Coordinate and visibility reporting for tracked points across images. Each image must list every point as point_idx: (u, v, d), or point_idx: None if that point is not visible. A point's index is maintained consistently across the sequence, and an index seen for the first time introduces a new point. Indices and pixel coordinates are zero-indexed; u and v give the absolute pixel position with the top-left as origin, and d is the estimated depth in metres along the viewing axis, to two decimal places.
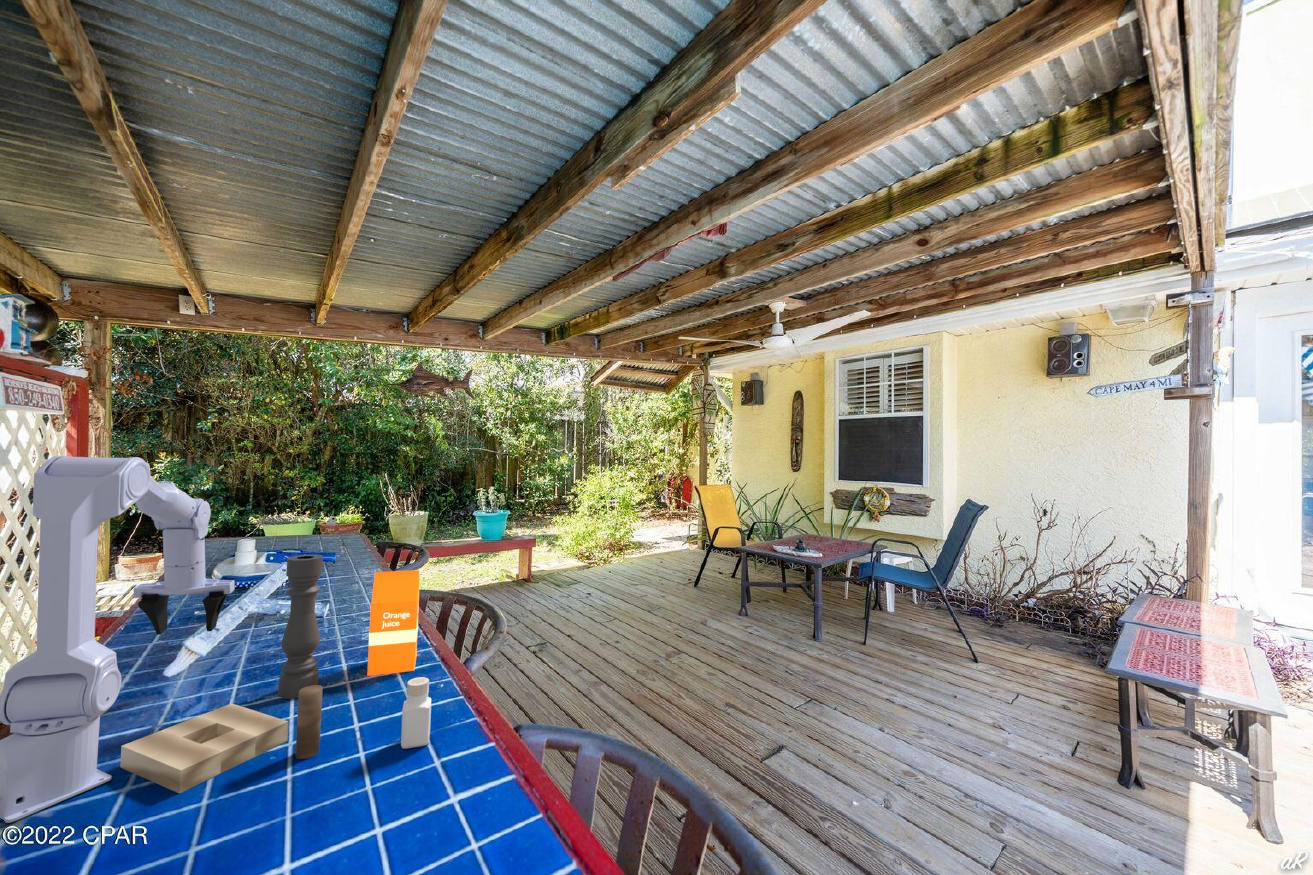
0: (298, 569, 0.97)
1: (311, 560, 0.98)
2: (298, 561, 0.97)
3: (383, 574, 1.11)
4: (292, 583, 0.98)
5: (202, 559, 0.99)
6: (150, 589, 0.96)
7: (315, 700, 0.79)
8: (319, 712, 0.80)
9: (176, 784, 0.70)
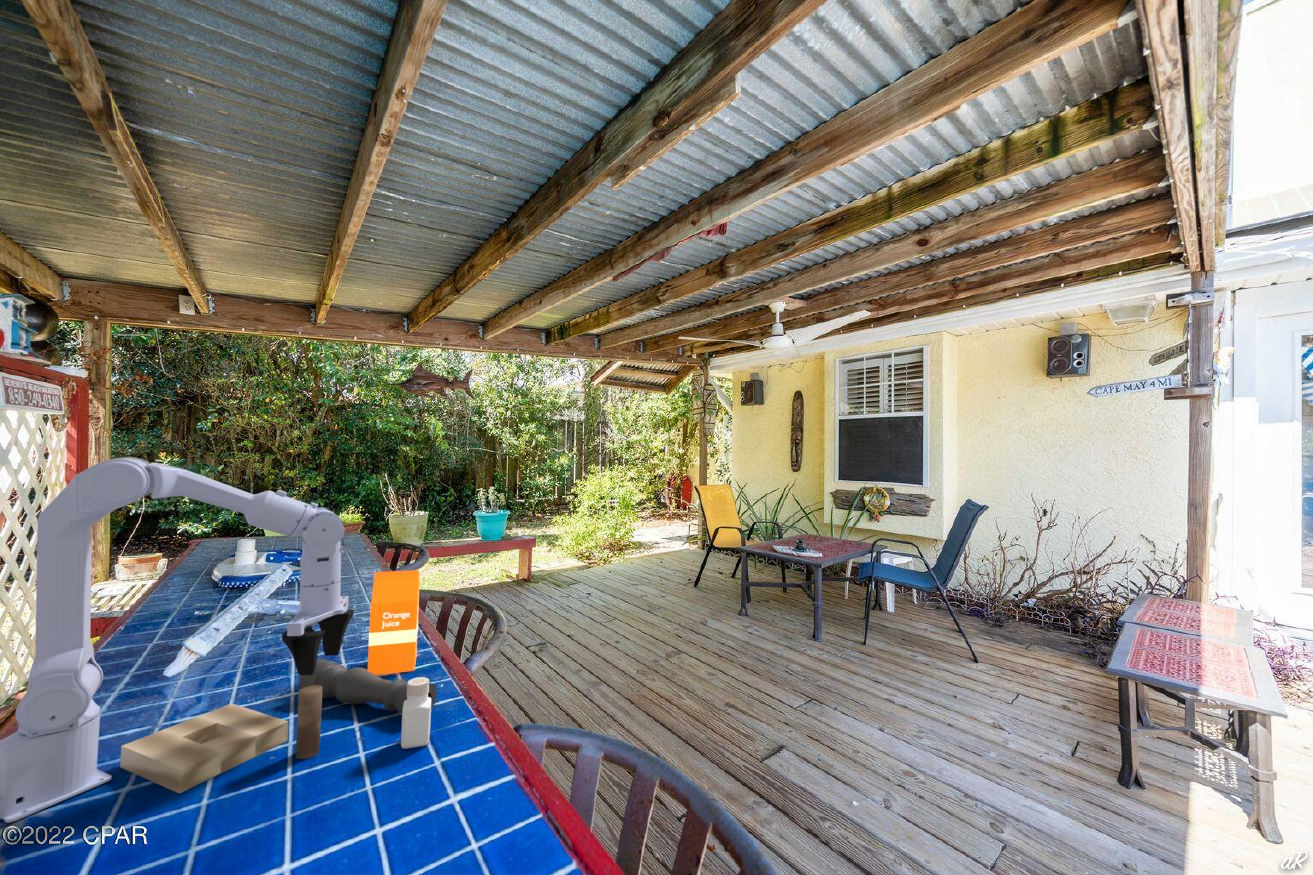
0: None
1: None
2: None
3: (383, 574, 1.11)
4: (395, 701, 0.90)
5: (320, 583, 0.85)
6: None
7: (315, 700, 0.79)
8: (319, 712, 0.80)
9: (176, 784, 0.70)
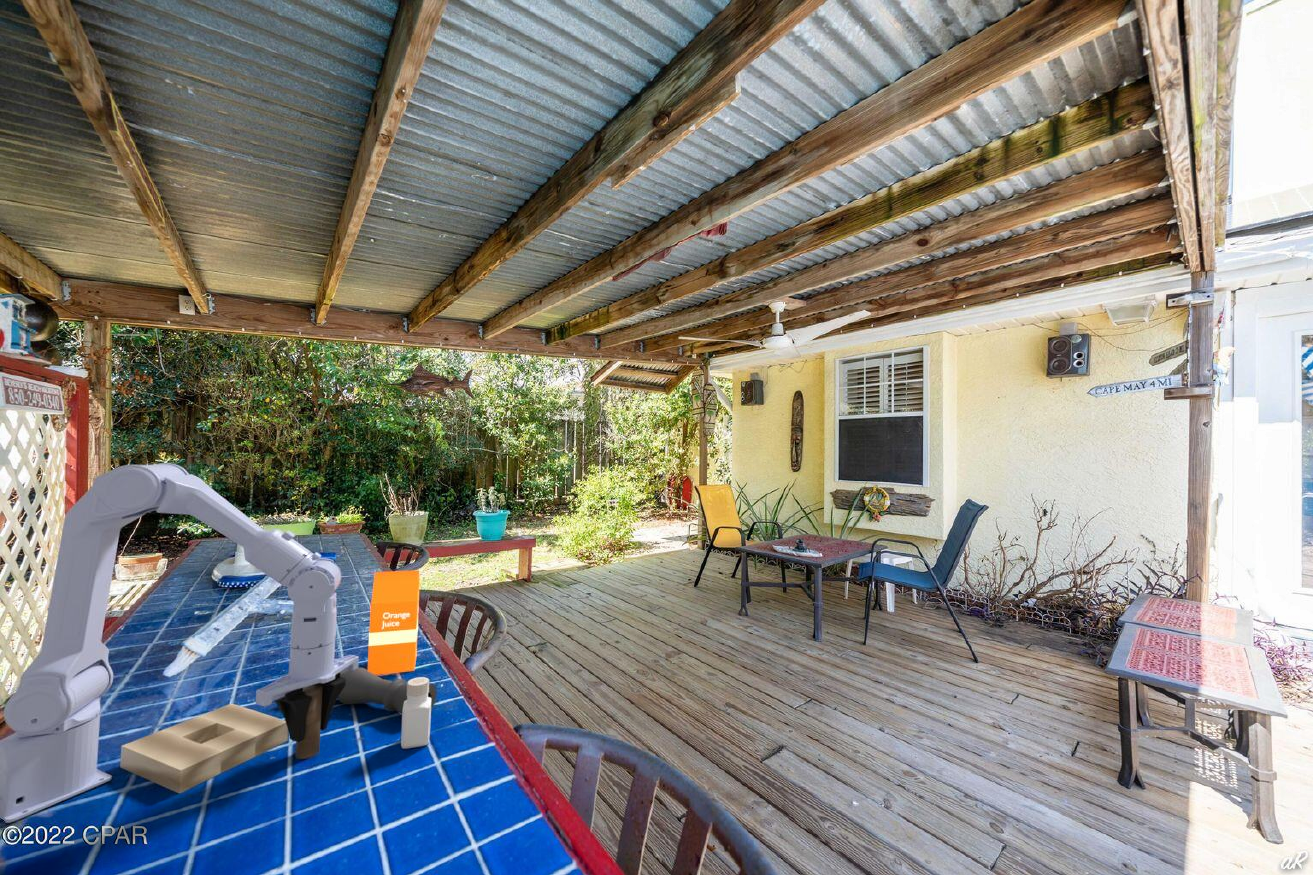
0: None
1: None
2: None
3: (383, 574, 1.11)
4: (394, 701, 0.90)
5: (305, 646, 0.77)
6: None
7: (315, 700, 0.79)
8: (319, 712, 0.80)
9: (176, 784, 0.70)
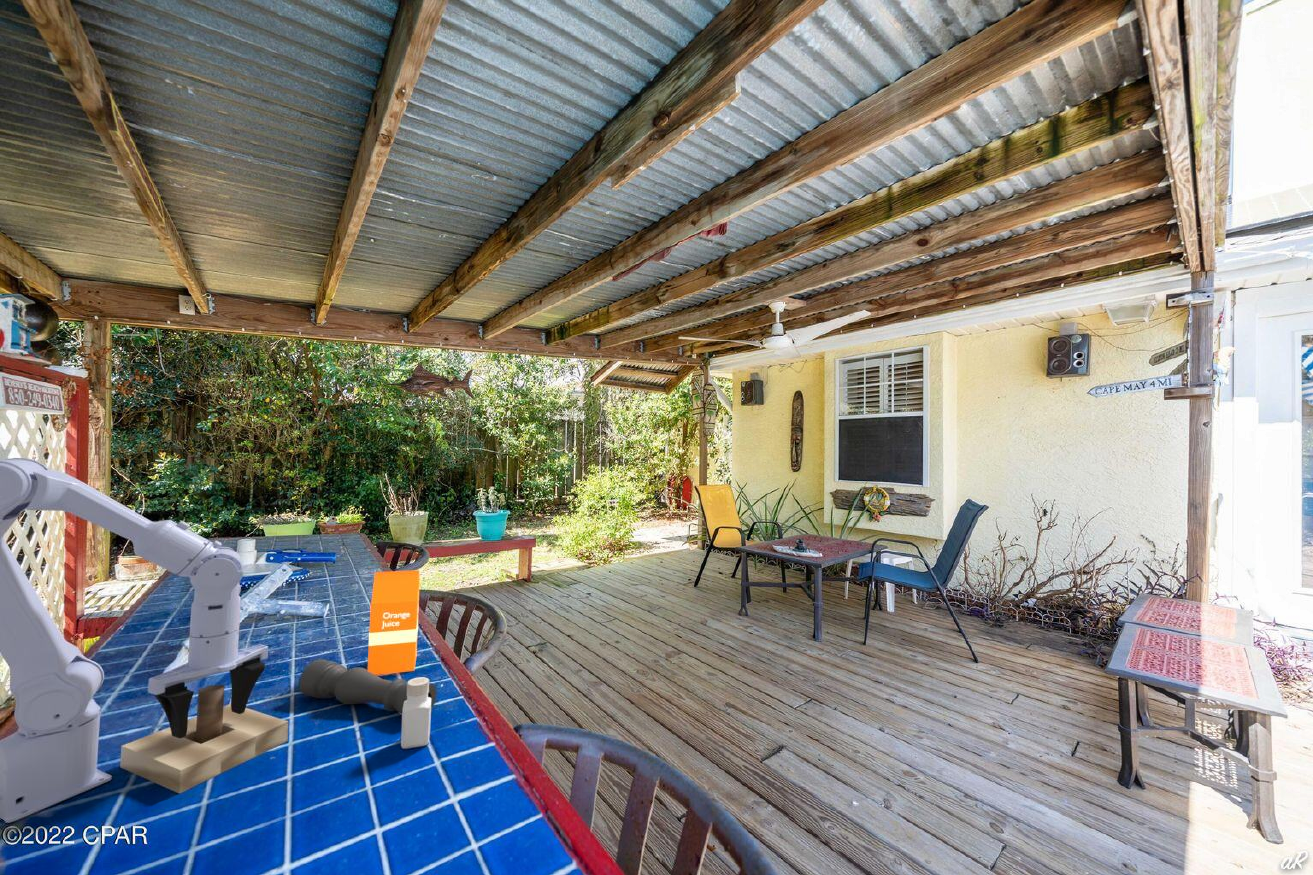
0: None
1: None
2: None
3: (383, 574, 1.11)
4: (394, 701, 0.90)
5: (210, 634, 0.77)
6: (239, 650, 0.84)
7: (215, 699, 0.78)
8: (220, 712, 0.79)
9: (176, 784, 0.70)
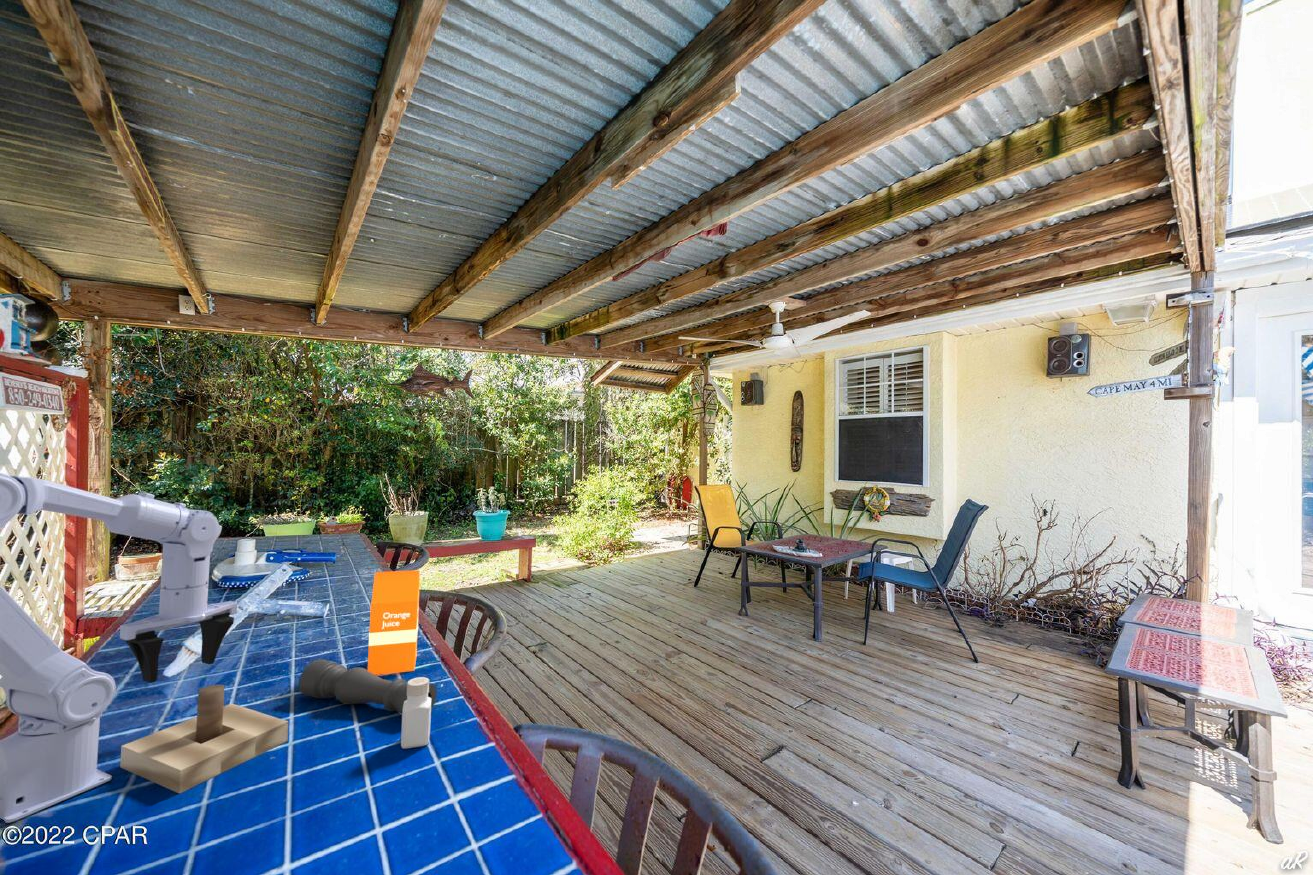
0: None
1: None
2: None
3: (383, 574, 1.11)
4: (394, 701, 0.90)
5: (196, 584, 0.83)
6: (210, 605, 0.88)
7: (215, 699, 0.78)
8: (220, 712, 0.79)
9: (176, 784, 0.70)
